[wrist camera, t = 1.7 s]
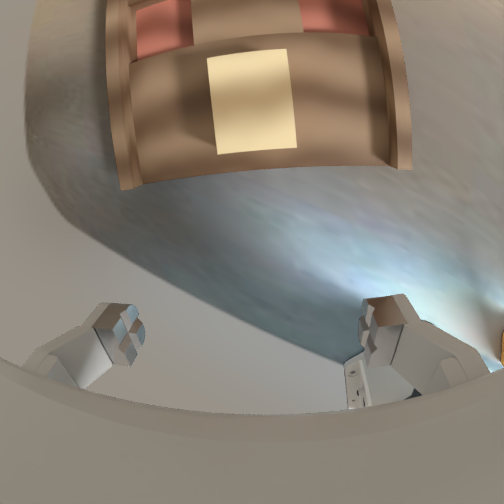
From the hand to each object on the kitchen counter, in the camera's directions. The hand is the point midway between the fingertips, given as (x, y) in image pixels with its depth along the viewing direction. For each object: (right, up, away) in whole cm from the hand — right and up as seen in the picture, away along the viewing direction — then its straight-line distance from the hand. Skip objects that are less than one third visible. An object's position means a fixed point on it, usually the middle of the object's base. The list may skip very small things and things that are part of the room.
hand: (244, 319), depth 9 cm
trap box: (0, +26, +10) cm, 28 cm away
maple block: (+1, +15, +12) cm, 20 cm away
